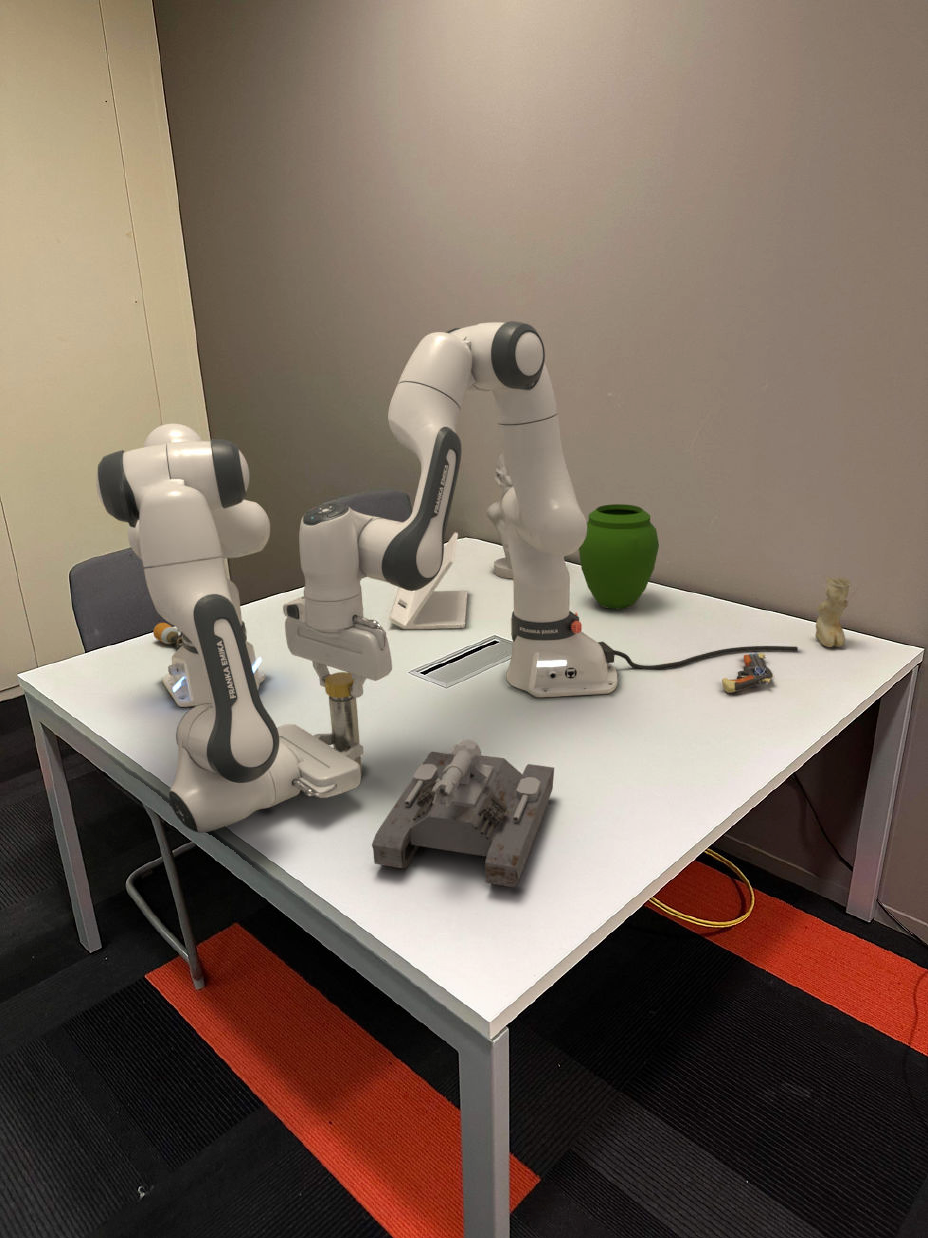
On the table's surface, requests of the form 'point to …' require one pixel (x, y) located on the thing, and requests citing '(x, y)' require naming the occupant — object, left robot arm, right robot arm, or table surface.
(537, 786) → the toy
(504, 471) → the bust sculpture
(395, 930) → the table surface
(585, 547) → the vase
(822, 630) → the sculpture
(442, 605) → the tablet stand
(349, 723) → the thermos bottle
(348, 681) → the lid
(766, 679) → the toy gun
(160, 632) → the spray gun
